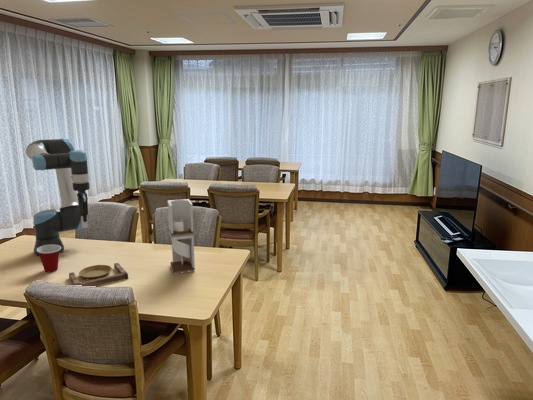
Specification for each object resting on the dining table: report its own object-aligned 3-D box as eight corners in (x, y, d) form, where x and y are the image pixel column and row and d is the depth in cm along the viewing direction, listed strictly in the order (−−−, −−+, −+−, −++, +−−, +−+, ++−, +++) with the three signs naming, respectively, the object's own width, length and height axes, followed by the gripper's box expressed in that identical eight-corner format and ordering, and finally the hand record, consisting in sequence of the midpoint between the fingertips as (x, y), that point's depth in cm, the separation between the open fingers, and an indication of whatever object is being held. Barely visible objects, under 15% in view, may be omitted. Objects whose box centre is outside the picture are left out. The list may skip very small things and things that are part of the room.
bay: (69, 277, 188) (68, 273, 188) (118, 267, 201) (117, 262, 201) (76, 290, 175) (75, 285, 175) (128, 278, 188) (127, 273, 188)
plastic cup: (50, 276, 190) (47, 252, 187) (34, 272, 194) (31, 249, 191) (68, 267, 200) (66, 245, 197) (52, 264, 204) (49, 242, 201)
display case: (170, 265, 204) (167, 200, 196) (191, 263, 208) (188, 199, 200) (173, 274, 194) (170, 205, 186) (194, 271, 197) (192, 204, 189)
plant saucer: (73, 281, 185) (72, 276, 185) (89, 268, 200) (88, 264, 199) (103, 282, 184) (102, 277, 184) (117, 270, 199) (116, 265, 198)
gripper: (69, 180, 197) (74, 225, 203) (75, 184, 187) (80, 231, 192) (85, 179, 202) (90, 223, 207) (91, 183, 191) (96, 229, 197)
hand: (85, 227), depth 200 cm, fingers closed
